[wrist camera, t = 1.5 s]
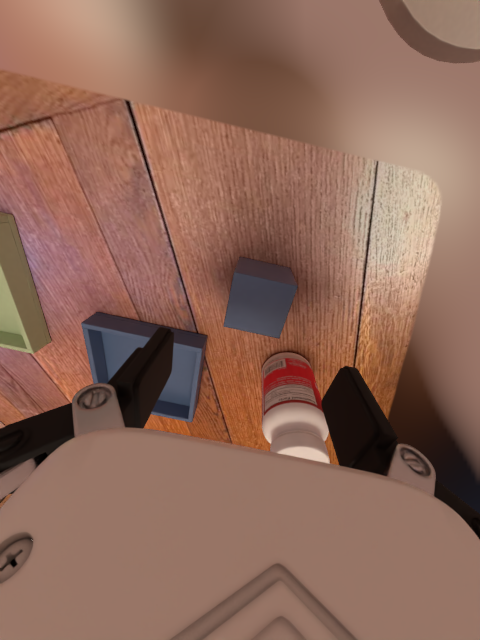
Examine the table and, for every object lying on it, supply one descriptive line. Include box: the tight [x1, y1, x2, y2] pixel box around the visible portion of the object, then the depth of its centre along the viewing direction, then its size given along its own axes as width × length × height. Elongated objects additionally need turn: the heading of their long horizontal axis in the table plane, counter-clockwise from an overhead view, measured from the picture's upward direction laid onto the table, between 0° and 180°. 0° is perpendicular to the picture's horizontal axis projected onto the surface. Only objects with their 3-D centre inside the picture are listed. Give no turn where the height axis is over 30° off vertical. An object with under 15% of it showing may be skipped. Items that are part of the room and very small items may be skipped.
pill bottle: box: [262, 352, 330, 463], centre depth 22 cm, size 6×6×11 cm
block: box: [224, 257, 298, 338], centre depth 20 cm, size 5×5×5 cm
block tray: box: [81, 312, 207, 422], centre depth 27 cm, size 13×13×3 cm
